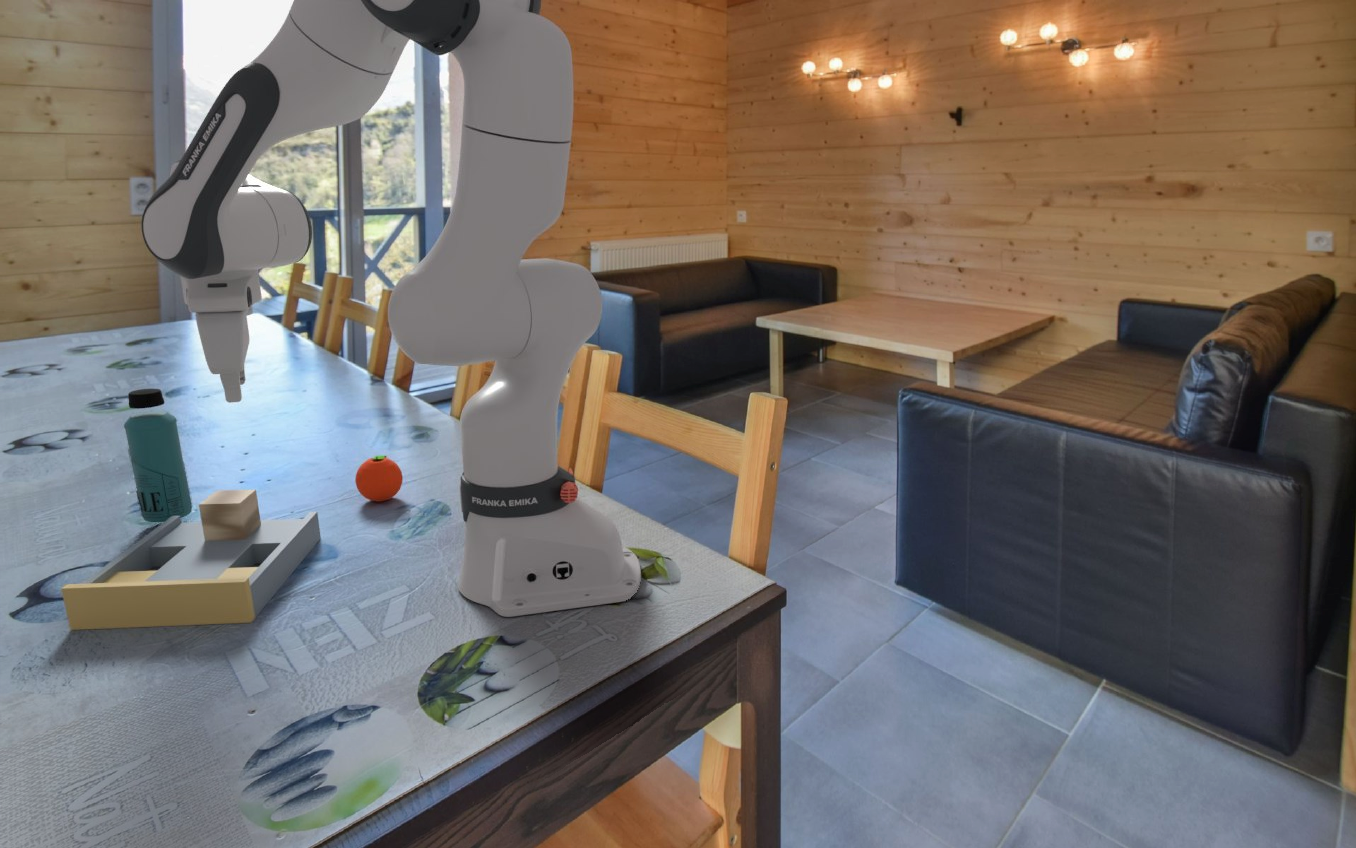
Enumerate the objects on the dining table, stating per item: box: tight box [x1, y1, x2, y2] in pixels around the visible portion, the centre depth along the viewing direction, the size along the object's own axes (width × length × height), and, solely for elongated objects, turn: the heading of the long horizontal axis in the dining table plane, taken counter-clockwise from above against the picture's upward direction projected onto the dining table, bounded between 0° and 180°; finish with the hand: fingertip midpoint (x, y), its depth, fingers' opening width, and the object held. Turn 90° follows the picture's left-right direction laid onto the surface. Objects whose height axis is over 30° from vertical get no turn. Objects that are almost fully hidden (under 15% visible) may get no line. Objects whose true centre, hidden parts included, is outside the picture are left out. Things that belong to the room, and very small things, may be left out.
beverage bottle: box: [123, 388, 194, 523], centre depth 113 cm, size 6×7×20 cm
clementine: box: [354, 455, 403, 502], centre depth 125 cm, size 8×7×7 cm
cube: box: [198, 489, 261, 541], centre depth 105 cm, size 5×5×5 cm
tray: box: [61, 511, 322, 631], centre depth 99 cm, size 23×19×5 cm
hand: (236, 392), depth 107 cm, fingers open, 8 cm apart
